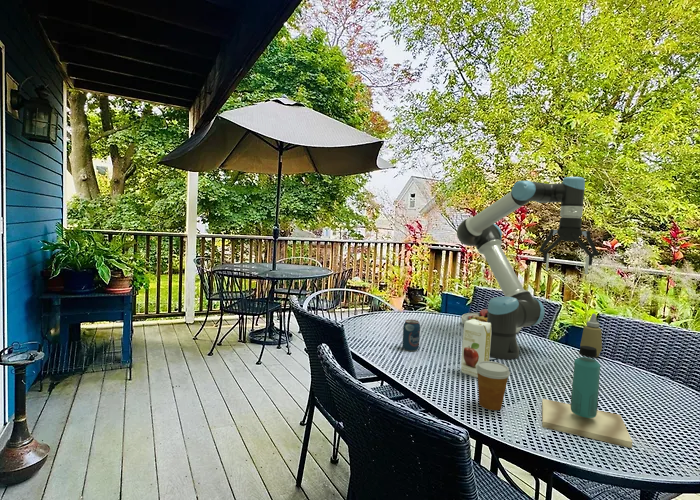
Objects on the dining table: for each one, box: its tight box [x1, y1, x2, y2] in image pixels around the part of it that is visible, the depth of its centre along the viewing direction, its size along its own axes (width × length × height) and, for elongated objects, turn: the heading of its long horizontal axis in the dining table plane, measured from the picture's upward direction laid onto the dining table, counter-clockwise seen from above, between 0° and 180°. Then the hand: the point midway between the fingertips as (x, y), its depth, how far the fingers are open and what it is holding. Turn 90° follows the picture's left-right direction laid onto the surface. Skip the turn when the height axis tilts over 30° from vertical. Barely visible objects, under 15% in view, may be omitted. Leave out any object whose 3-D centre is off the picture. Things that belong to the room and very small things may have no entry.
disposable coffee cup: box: [476, 360, 511, 411], centre depth 118 cm, size 10×10×12 cm
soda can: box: [402, 319, 421, 352], centre depth 168 cm, size 7×7×12 cm
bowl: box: [461, 308, 523, 334], centre depth 209 cm, size 30×30×8 cm
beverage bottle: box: [570, 346, 602, 418], centre depth 110 cm, size 6×7×20 cm
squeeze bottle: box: [580, 313, 603, 358], centre depth 171 cm, size 8×8×18 cm
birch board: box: [541, 398, 633, 449], centre depth 110 cm, size 20×16×2 cm
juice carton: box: [460, 319, 491, 379], centre depth 143 cm, size 8×9×19 cm
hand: (566, 272), depth 156 cm, fingers open, 13 cm apart
